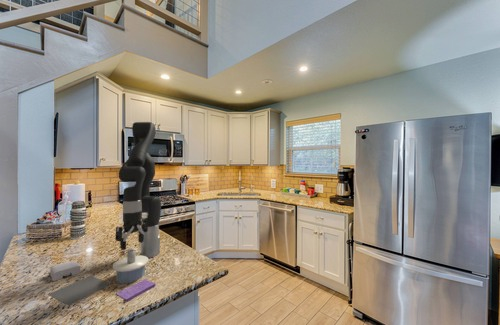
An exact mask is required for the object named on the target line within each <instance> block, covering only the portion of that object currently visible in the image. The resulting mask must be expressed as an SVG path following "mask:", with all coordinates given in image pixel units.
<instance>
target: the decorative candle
mask: <svg viewBox="0 0 500 325" xmlns="http://www.w3.org/2000/svg"><path fill="white" fill-rule="evenodd" d="M69 215H70V216H69V217H70V218H69V220H70V228H69V229H70V230H69V239H70V240H79V239H78V238H80V239H83V238H85V237H86V236H85V235H86V227H87V226H86V220H87V217H86V216H87V207H86V202H85V201H84V200H77V201H73V202H72V203H71V209H70V211H69ZM84 236H85V237H84ZM82 237H83V238H82Z"/></svg>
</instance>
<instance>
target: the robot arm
mask: <svg viewBox="0 0 500 325" xmlns="http://www.w3.org/2000/svg"><path fill="white" fill-rule="evenodd" d="M131 128H132V129H131V130H132V131H131V132H132V138H133V143H134V146H133V147H132V149H131V151H130V154H129V156H128V159H127V160H126V161H125V162H124V163H123V164H122V165H121V167H120V168H119V171H118V178H119V180H120V181H121V182H123V183H134V182H135V184H134V185H133V186H128V187H125V188H124V189H123V203H122V222H123V225H122V226H116V227H115V239H114V240H115V241H116V242H120V244H119V246H120V249H121V250H123V251H125V250H127V241H126V240H127V239H128V237H130V235H131V234H134V233H137V234H138V236H137V237H138V238H137V239H138V243H139V244H140V252H139V255H141V256H146V257H148V259H150V258H154V257H156V256H158V255H159V254H160V252H161V236H160V235H159V234H160V231H159V229H160V219H161V211H162V201H161V199H160V198H159V197H157V196H151V195H150V189H151V188H150V187H151V184H152V182H153V180H154V177H155V175H156V167H155V165H156V163H155V161H154V159H153V157H152V156H151V155H150V153H149V152H148V151H149V149H150V147H151V145H152V144H153V141H154V139H155V137H156V131H157V130H156V129H157V128H156V125H155V124H154V122H151V121H138V122H137V121H136V122H133V124H132V126H131ZM143 213H145V214H146V213H147V217H146V218H143V217H142V216H143Z"/></svg>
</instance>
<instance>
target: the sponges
mask: <svg viewBox="0 0 500 325" xmlns="http://www.w3.org/2000/svg"><path fill="white" fill-rule="evenodd" d="M155 286H156V283H155V282H153V281H150V280H148V279H146V278H145V279H142V280H141V281H137V283H135V284H133V285H131V286H129V287H126V288H124V289H122V290H120V291H118V292H116V293H115V295H116V296H119V298H120V297H121V298H122V299H123V302H125V303H128V302H129V301H131V300H134V299H135V298H137V297H139V296H140V295H142V294H144V293H146V292H147V291H149V290H151V289H154V288H155Z"/></svg>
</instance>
